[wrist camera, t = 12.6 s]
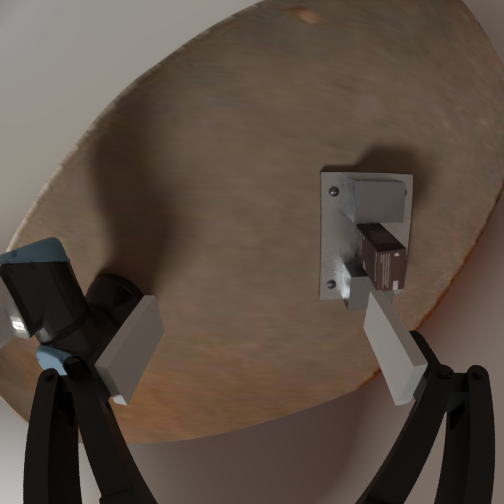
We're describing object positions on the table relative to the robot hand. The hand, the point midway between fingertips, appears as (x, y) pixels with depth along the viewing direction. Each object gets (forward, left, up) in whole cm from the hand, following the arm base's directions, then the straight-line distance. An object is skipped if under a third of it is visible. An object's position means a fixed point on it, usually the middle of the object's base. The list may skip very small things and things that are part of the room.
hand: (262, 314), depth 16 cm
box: (+16, -6, -28) cm, 33 cm away
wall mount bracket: (+16, -6, -29) cm, 34 cm away
